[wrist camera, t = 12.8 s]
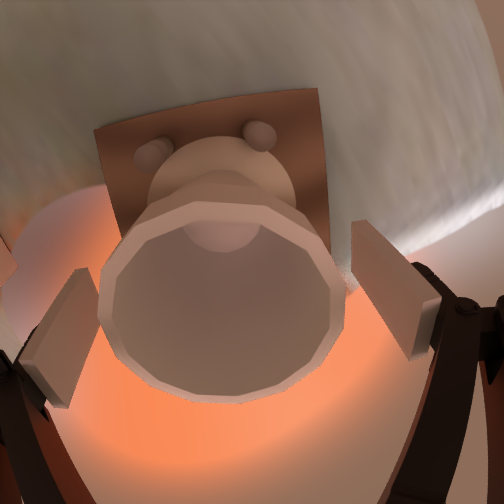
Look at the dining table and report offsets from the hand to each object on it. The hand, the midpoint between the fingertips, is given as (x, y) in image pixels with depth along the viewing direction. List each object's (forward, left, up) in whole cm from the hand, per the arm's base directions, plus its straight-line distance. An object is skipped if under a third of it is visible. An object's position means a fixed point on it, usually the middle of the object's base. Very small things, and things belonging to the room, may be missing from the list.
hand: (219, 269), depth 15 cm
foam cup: (0, 0, -9) cm, 9 cm away
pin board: (0, 0, -11) cm, 11 cm away
